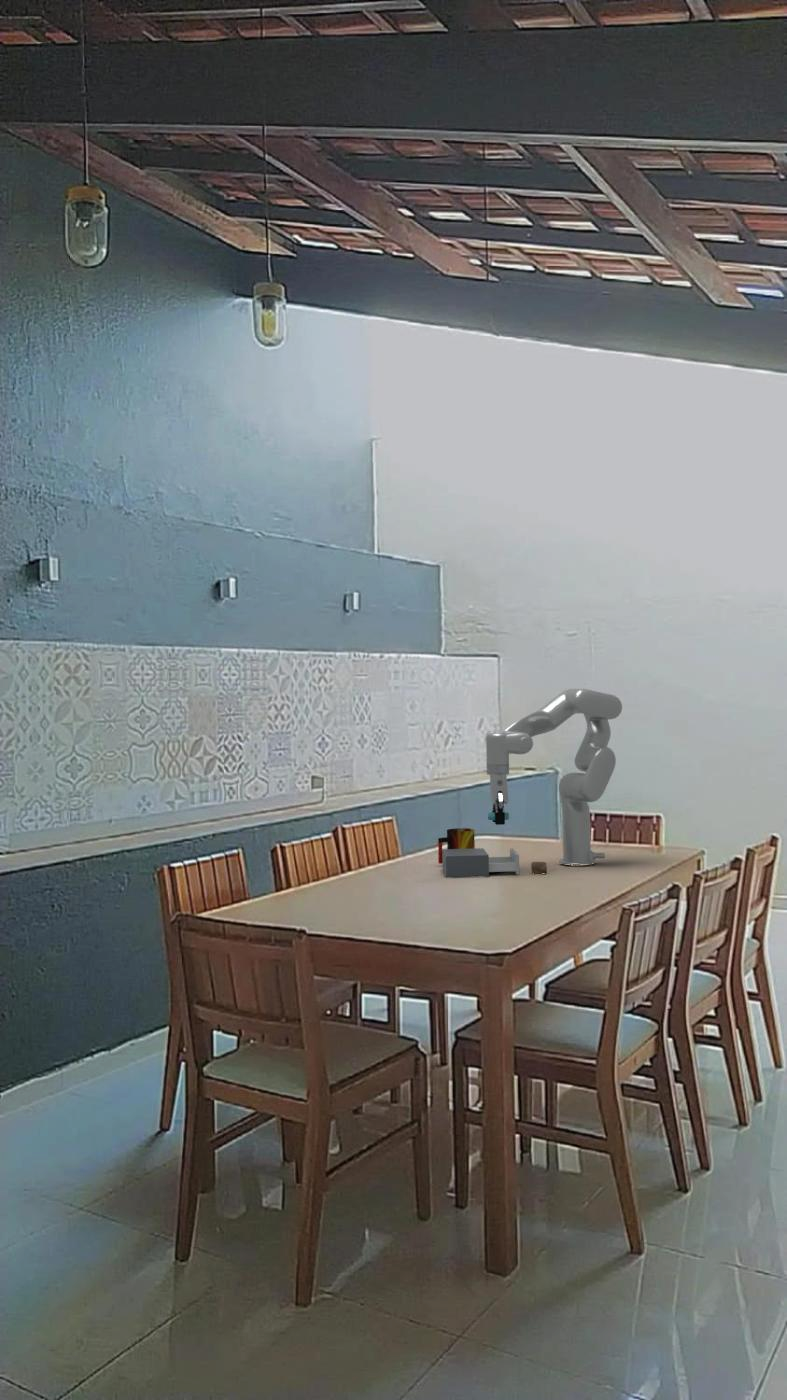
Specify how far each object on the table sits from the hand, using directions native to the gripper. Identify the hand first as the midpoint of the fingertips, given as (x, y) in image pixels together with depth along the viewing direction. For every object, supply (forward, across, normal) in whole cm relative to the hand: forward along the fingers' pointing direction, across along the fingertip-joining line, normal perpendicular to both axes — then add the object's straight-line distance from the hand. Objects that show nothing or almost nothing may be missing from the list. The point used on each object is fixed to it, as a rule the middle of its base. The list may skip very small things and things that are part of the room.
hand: (498, 822), depth 388 cm
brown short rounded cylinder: (+16, -5, -13) cm, 21 cm away
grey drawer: (+16, 0, +1) cm, 16 cm away
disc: (-1, 0, 0) cm, 1 cm away
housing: (+17, 0, +11) cm, 20 cm away
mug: (+17, +20, +12) cm, 29 cm away
